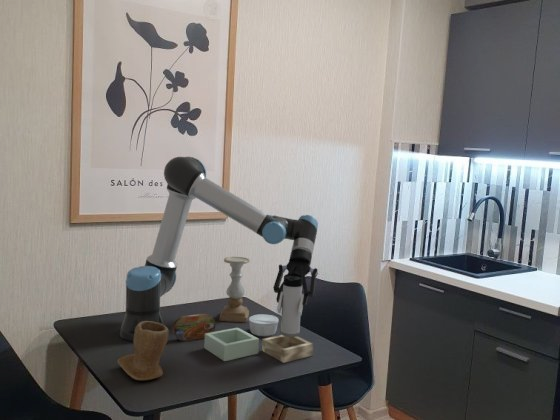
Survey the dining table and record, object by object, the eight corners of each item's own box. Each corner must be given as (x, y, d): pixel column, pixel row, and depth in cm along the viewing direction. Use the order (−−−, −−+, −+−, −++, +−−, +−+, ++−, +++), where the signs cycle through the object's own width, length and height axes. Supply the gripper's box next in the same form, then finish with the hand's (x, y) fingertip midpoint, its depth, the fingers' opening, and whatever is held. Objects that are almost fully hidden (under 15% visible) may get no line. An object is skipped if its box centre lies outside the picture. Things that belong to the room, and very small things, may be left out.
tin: (174, 342, 177) (174, 318, 176) (171, 339, 180) (172, 315, 179) (215, 337, 184) (216, 314, 183) (212, 334, 187) (213, 311, 186)
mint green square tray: (224, 361, 162) (224, 345, 162) (204, 348, 173) (204, 333, 172) (258, 353, 170) (258, 338, 170) (237, 341, 181) (237, 327, 180)
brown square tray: (283, 362, 163) (284, 350, 163) (261, 350, 173) (262, 339, 173) (312, 355, 171) (313, 343, 170) (290, 344, 180) (290, 333, 180)
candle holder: (222, 313, 213) (224, 255, 211) (249, 314, 213) (251, 257, 210) (218, 321, 202) (221, 261, 200) (246, 322, 202) (249, 262, 199)
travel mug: (301, 332, 173) (305, 273, 171) (296, 338, 167) (299, 277, 165) (284, 329, 175) (287, 271, 173) (277, 335, 169) (281, 275, 167)
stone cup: (173, 378, 149) (175, 327, 147) (133, 386, 142) (134, 333, 140) (154, 360, 161) (155, 313, 160) (116, 367, 154) (117, 318, 153)
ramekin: (254, 339, 184) (255, 324, 184) (243, 329, 194) (244, 315, 194) (283, 335, 189) (283, 321, 188) (271, 326, 199) (271, 313, 198)
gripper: (329, 262, 182) (319, 321, 168) (276, 257, 186) (262, 314, 172) (328, 250, 176) (317, 310, 162) (273, 245, 180) (258, 302, 166)
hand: (289, 312), depth 167 cm, fingers closed on travel mug, 6 cm apart
